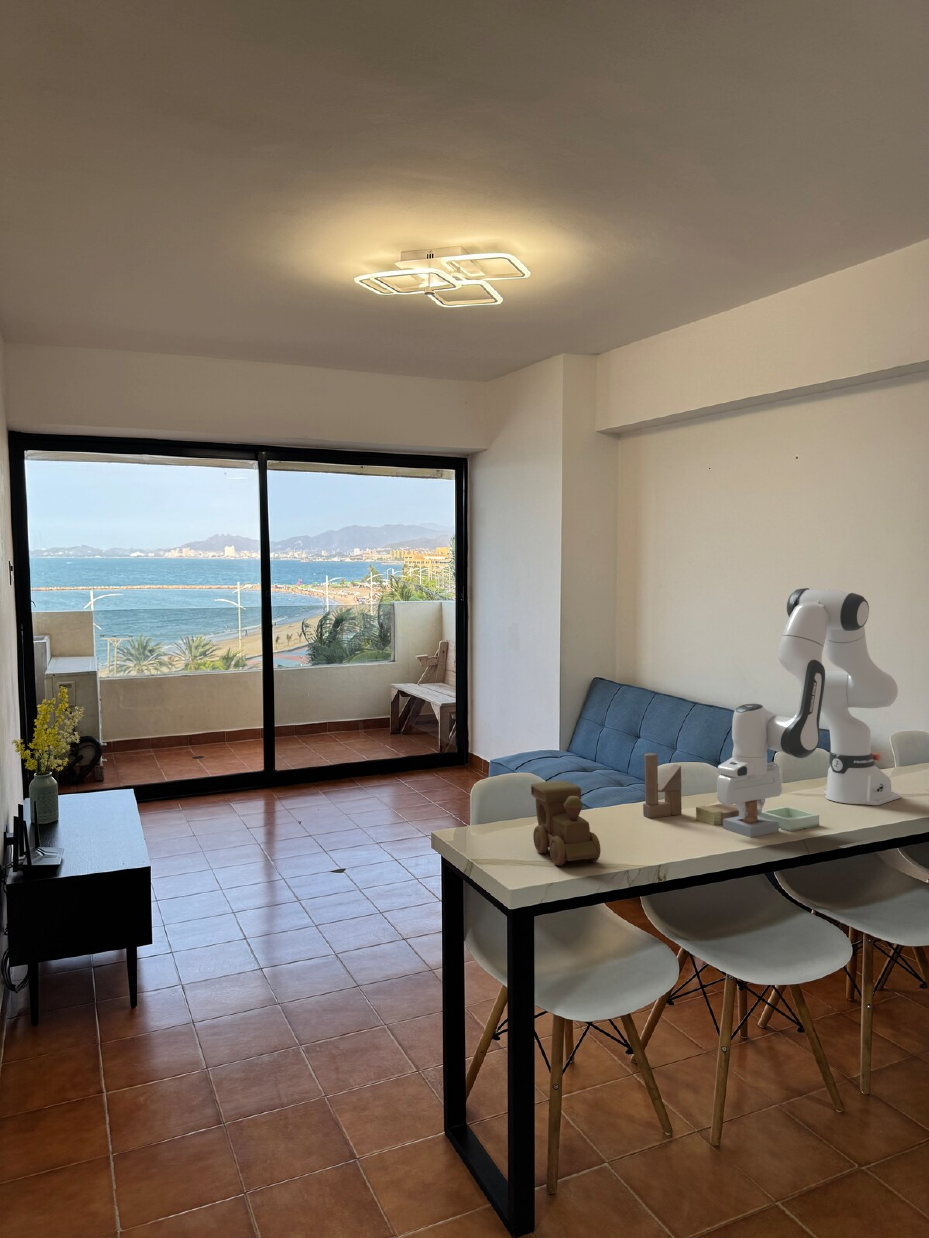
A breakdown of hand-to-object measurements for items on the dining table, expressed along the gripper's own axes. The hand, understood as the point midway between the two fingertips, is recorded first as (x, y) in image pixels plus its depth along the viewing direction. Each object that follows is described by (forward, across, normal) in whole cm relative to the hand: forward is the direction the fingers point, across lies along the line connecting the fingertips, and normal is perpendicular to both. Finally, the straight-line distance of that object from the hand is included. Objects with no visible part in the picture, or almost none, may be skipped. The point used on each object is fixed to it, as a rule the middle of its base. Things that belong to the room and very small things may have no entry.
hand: (750, 816), depth 228 cm
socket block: (+4, 0, 0) cm, 4 cm away
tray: (+4, -13, +1) cm, 14 cm away
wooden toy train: (+4, +55, -6) cm, 55 cm away
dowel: (+4, 0, 0) cm, 4 cm away
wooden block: (+4, +10, -24) cm, 26 cm away
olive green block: (+4, +4, -12) cm, 13 cm away
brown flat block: (+4, -3, -12) cm, 13 cm away
